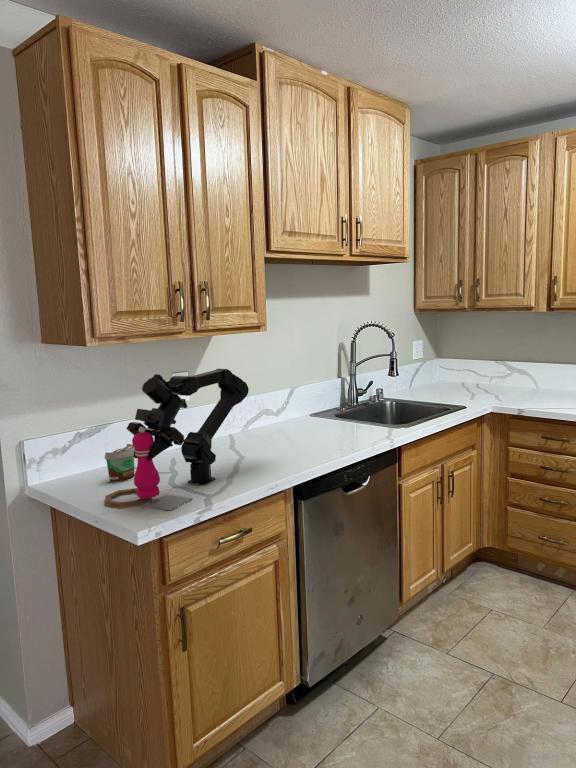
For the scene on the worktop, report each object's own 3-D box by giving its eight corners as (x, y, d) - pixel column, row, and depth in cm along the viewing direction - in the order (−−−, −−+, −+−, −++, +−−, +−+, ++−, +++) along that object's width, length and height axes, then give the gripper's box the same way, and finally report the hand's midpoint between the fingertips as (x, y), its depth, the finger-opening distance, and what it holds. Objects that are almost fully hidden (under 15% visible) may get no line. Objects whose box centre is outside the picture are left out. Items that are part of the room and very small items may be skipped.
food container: (122, 484, 189) (120, 454, 187) (107, 483, 191) (104, 452, 190) (145, 473, 200) (143, 444, 199) (130, 472, 202) (127, 443, 201)
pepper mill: (147, 500, 166) (140, 430, 162) (130, 497, 170) (122, 428, 166) (166, 492, 171) (160, 425, 168) (148, 489, 176) (142, 423, 172)
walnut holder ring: (127, 490, 183) (127, 486, 183) (160, 495, 177) (160, 491, 176) (95, 504, 172) (95, 500, 171) (129, 510, 165) (129, 505, 165)
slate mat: (165, 495, 176) (165, 494, 176) (192, 499, 172) (192, 498, 171) (142, 506, 168) (142, 505, 168) (170, 511, 163) (170, 509, 163)
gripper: (128, 395, 175) (101, 440, 168) (173, 399, 164) (146, 448, 157) (151, 415, 182) (126, 460, 175) (195, 420, 171) (170, 468, 164)
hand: (141, 458), depth 168 cm, fingers closed on pepper mill, 5 cm apart
